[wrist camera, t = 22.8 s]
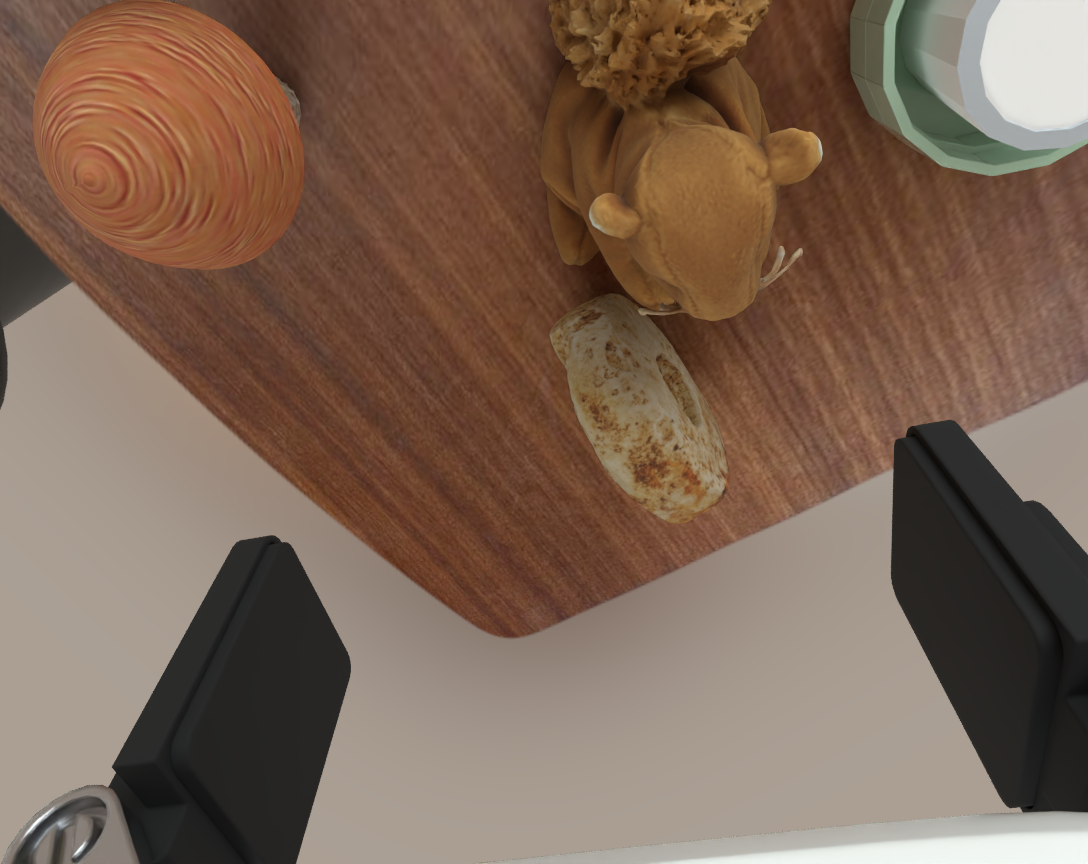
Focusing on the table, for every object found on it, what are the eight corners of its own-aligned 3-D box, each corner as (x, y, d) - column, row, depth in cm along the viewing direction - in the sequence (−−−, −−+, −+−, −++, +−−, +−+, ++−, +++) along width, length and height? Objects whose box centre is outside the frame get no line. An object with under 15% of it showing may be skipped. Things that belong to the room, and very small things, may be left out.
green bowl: (846, 169, 33) (881, 198, 29) (844, -107, 28) (886, -116, 24) (1096, 118, 31) (1167, 141, 28) (1144, -184, 26) (1239, -207, 22)
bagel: (726, 405, 39) (767, 530, 31) (666, 441, 41) (689, 570, 32) (609, 251, 35) (619, 346, 27) (546, 296, 36) (537, 401, 28)
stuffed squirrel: (563, 272, 36) (556, 418, 25) (483, -79, 28) (423, -96, 17) (779, 228, 34) (876, 362, 23) (754, -155, 27) (877, -228, 16)
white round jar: (886, 133, 31) (957, 176, 25) (878, -57, 28) (959, -58, 22) (1066, 85, 30) (1184, 118, 24) (1081, -120, 27) (1224, -139, 21)
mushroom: (360, -18, 30) (198, 7, 17) (386, 188, 34) (274, 331, 21) (161, -13, 30) (-141, 15, 17) (212, 191, 34) (-1, 332, 22)
